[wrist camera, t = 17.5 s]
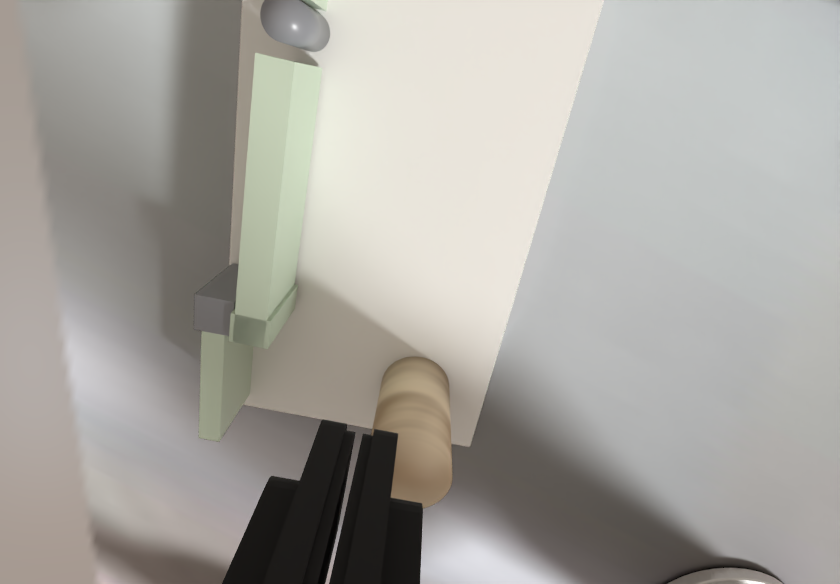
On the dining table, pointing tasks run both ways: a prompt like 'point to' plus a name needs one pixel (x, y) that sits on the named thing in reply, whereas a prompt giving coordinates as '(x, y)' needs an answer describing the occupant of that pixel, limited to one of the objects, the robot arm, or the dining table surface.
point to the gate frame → (399, 197)
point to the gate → (274, 196)
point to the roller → (417, 428)
